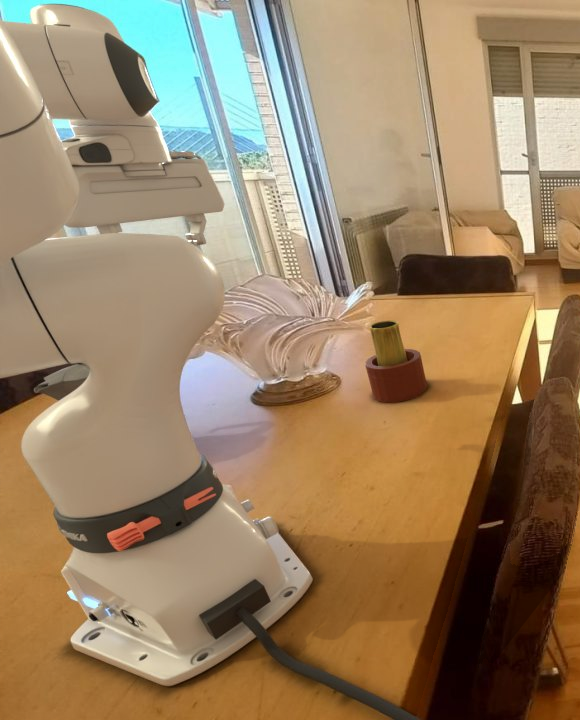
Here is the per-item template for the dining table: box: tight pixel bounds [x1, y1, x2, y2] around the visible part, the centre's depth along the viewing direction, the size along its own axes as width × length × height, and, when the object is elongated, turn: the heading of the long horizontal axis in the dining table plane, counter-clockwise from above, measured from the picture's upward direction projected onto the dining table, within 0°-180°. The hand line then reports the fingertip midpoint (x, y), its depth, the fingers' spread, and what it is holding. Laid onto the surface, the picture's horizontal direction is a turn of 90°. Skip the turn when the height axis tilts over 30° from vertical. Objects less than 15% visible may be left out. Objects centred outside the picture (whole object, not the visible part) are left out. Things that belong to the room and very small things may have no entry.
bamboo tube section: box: [369, 319, 408, 367], centre depth 97 cm, size 6×6×14 cm
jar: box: [364, 348, 428, 404], centre depth 98 cm, size 10×10×8 cm
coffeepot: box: [33, 363, 90, 402], centre depth 80 cm, size 15×9×18 cm, turn 171°
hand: (167, 250), depth 72 cm, fingers open, 8 cm apart
